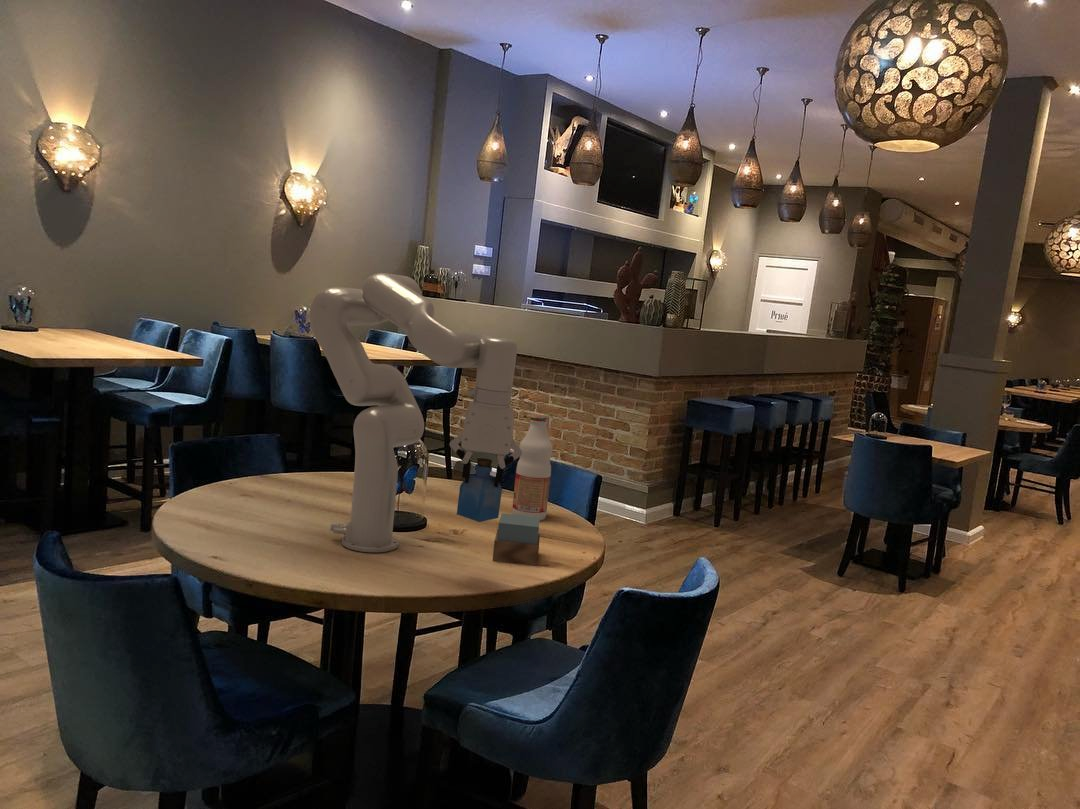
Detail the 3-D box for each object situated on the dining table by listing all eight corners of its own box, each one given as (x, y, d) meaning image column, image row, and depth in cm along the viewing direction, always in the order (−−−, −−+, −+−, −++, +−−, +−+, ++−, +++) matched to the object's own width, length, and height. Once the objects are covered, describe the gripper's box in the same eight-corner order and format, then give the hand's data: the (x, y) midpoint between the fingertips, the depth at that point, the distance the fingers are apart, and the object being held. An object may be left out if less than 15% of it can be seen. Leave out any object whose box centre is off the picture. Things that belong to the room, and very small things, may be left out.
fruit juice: (525, 523, 227) (537, 419, 223) (504, 514, 234) (515, 413, 231) (552, 520, 233) (564, 419, 229) (531, 511, 240) (541, 413, 237)
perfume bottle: (475, 510, 182) (482, 455, 180) (498, 518, 178) (505, 462, 177) (456, 514, 177) (463, 457, 175) (479, 522, 173) (486, 464, 172)
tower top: (497, 540, 191) (498, 522, 190) (500, 529, 200) (501, 513, 199) (537, 544, 191) (538, 527, 190) (538, 534, 200) (540, 517, 199)
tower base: (492, 562, 191) (494, 540, 190) (495, 549, 201) (497, 529, 200) (536, 567, 191) (539, 545, 190) (537, 554, 200) (539, 533, 200)
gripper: (448, 394, 171) (438, 482, 173) (533, 405, 171) (522, 493, 173) (452, 390, 178) (442, 474, 180) (534, 401, 178) (523, 485, 180)
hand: (481, 482), depth 177 cm, fingers closed on perfume bottle, 5 cm apart
